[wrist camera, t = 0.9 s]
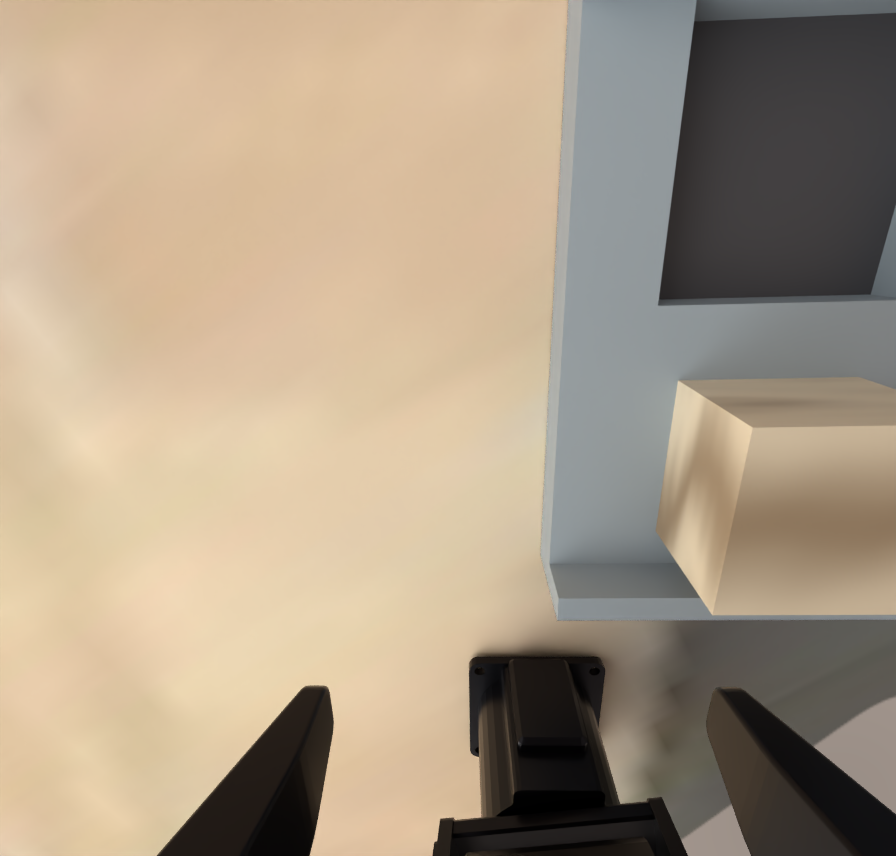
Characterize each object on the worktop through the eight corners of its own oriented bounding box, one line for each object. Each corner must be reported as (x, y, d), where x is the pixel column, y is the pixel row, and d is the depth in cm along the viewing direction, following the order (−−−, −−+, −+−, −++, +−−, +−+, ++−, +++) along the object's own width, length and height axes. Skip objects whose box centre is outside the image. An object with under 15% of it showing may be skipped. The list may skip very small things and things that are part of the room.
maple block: (814, 529, 18) (919, 614, 14) (655, 530, 19) (712, 615, 14) (858, 376, 16) (997, 423, 12) (677, 380, 16) (752, 427, 12)
